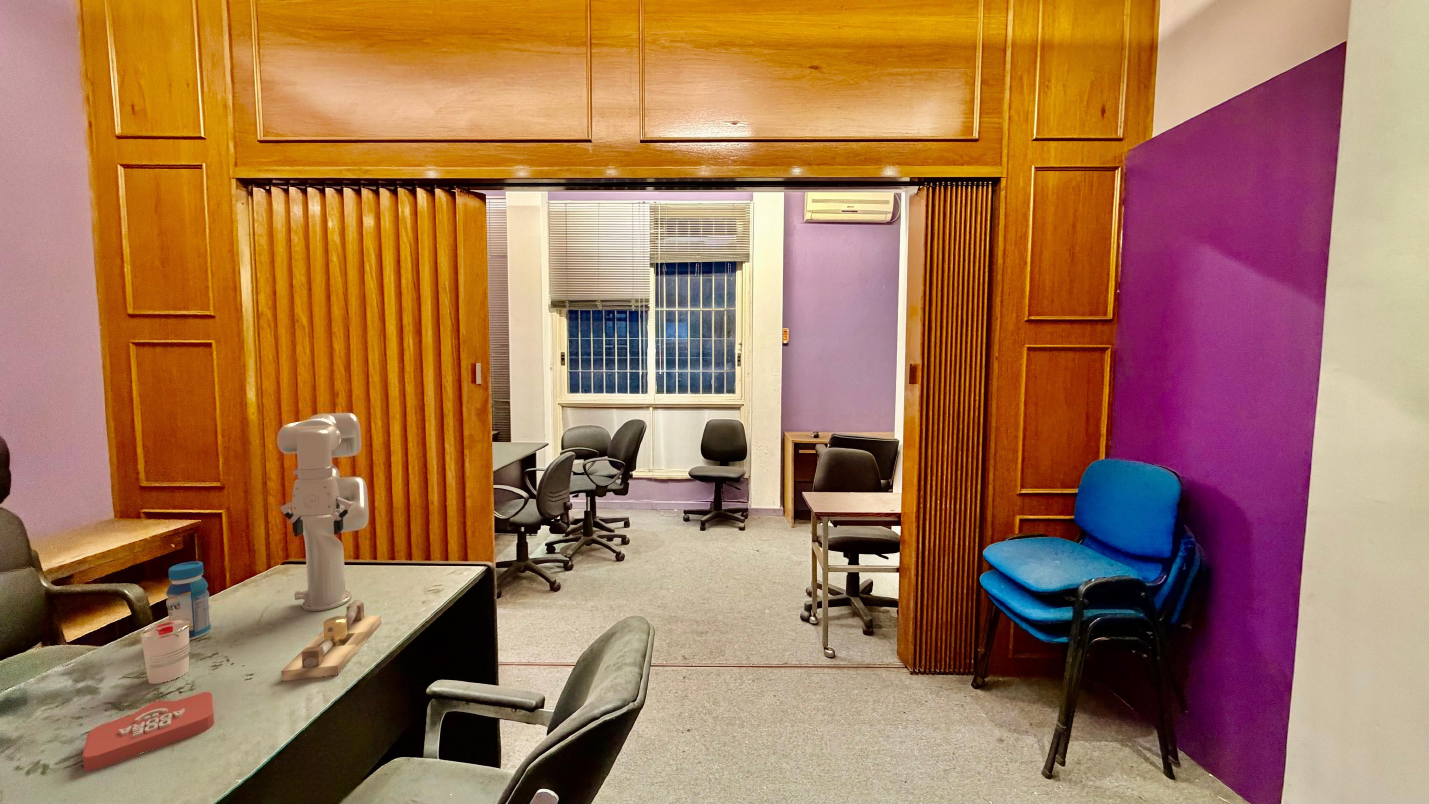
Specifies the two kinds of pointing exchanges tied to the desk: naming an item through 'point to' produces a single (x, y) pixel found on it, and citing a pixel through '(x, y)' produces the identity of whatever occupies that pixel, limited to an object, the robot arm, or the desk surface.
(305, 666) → the shaft jig
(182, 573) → the blue supplement bottle
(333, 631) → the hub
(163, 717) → the plaque
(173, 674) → the striped cup with float
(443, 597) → the desk surface
